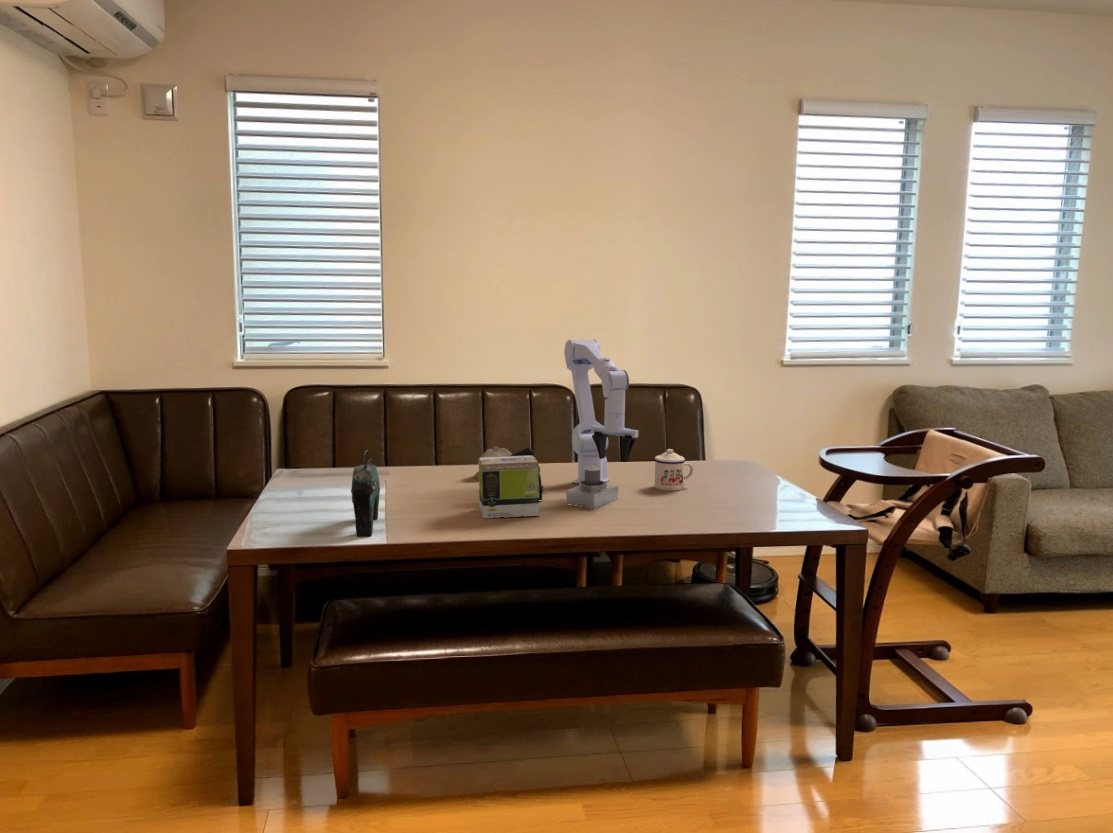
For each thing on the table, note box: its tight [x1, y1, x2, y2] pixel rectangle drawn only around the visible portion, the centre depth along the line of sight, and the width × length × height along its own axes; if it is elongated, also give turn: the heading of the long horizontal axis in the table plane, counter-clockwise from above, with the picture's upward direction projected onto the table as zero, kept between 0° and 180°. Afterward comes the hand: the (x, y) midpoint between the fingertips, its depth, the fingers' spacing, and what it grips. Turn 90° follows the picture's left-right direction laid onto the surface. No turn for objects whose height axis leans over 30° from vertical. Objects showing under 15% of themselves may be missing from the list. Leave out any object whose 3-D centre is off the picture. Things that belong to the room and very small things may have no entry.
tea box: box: [478, 455, 540, 519], centre depth 231 cm, size 15×10×15 cm
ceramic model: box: [473, 446, 513, 480], centre depth 273 cm, size 14×11×10 cm
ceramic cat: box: [350, 449, 381, 538], centre depth 216 cm, size 20×6×20 cm, turn 5°
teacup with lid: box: [653, 448, 694, 492], centre depth 261 cm, size 12×9×12 cm
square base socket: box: [565, 480, 619, 510], centre depth 244 cm, size 13×9×6 cm
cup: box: [584, 465, 601, 485], centre depth 243 cm, size 5×5×6 cm
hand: (613, 459), depth 250 cm, fingers open, 7 cm apart
